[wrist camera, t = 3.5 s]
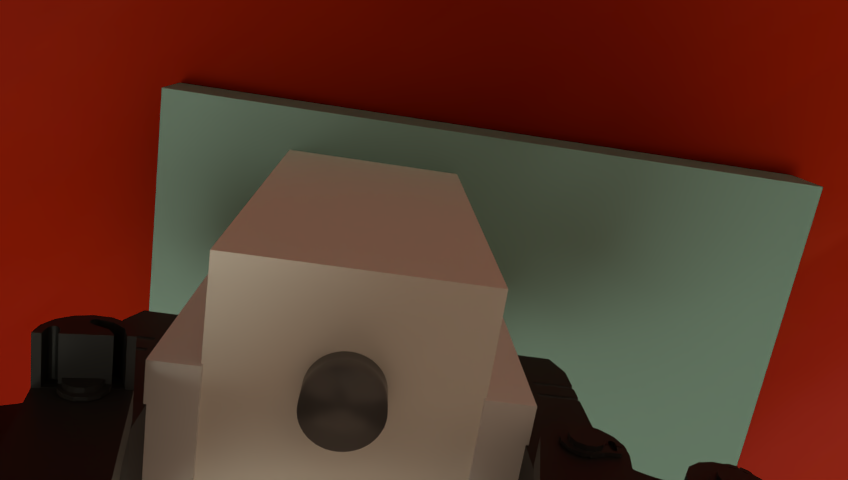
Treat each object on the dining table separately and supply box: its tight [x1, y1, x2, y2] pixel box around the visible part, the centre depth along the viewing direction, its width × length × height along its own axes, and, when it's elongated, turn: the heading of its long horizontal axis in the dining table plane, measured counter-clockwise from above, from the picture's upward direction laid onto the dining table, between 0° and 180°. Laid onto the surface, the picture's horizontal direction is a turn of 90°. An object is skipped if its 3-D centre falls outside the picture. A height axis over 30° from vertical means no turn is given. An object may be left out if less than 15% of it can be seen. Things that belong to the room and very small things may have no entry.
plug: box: [194, 150, 508, 480], centre depth 14 cm, size 7×4×9 cm, turn 171°
